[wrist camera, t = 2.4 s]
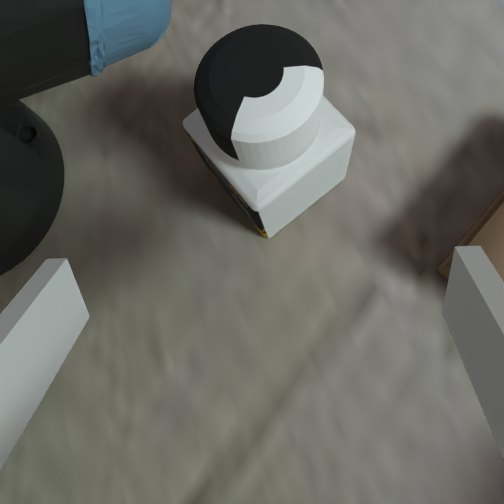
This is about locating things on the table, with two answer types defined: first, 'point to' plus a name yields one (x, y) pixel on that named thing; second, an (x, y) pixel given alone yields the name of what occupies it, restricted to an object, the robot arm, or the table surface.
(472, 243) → the walnut plinth
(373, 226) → the table surface
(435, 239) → the table surface
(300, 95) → the medicine bottle
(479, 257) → the robot arm
